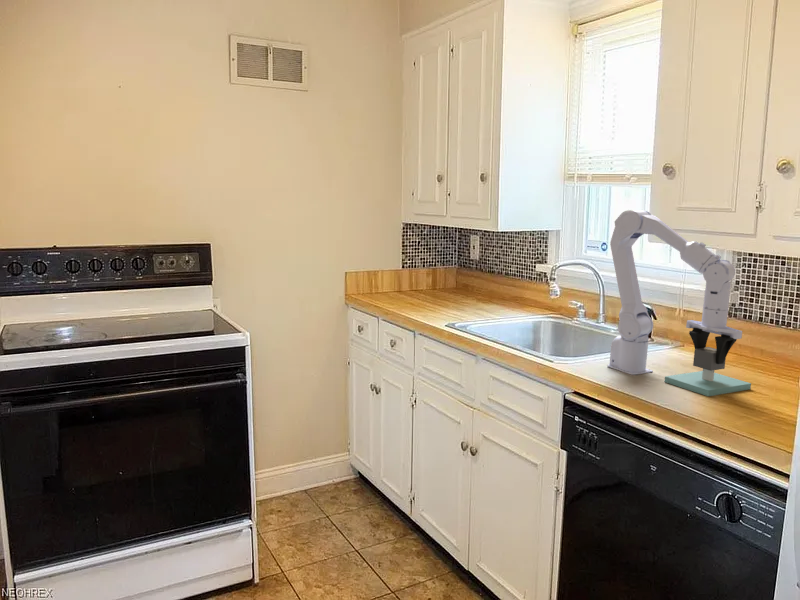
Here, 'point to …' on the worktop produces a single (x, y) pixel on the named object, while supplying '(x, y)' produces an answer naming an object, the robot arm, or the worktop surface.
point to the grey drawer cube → (707, 359)
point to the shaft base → (707, 383)
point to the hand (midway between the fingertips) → (709, 360)
